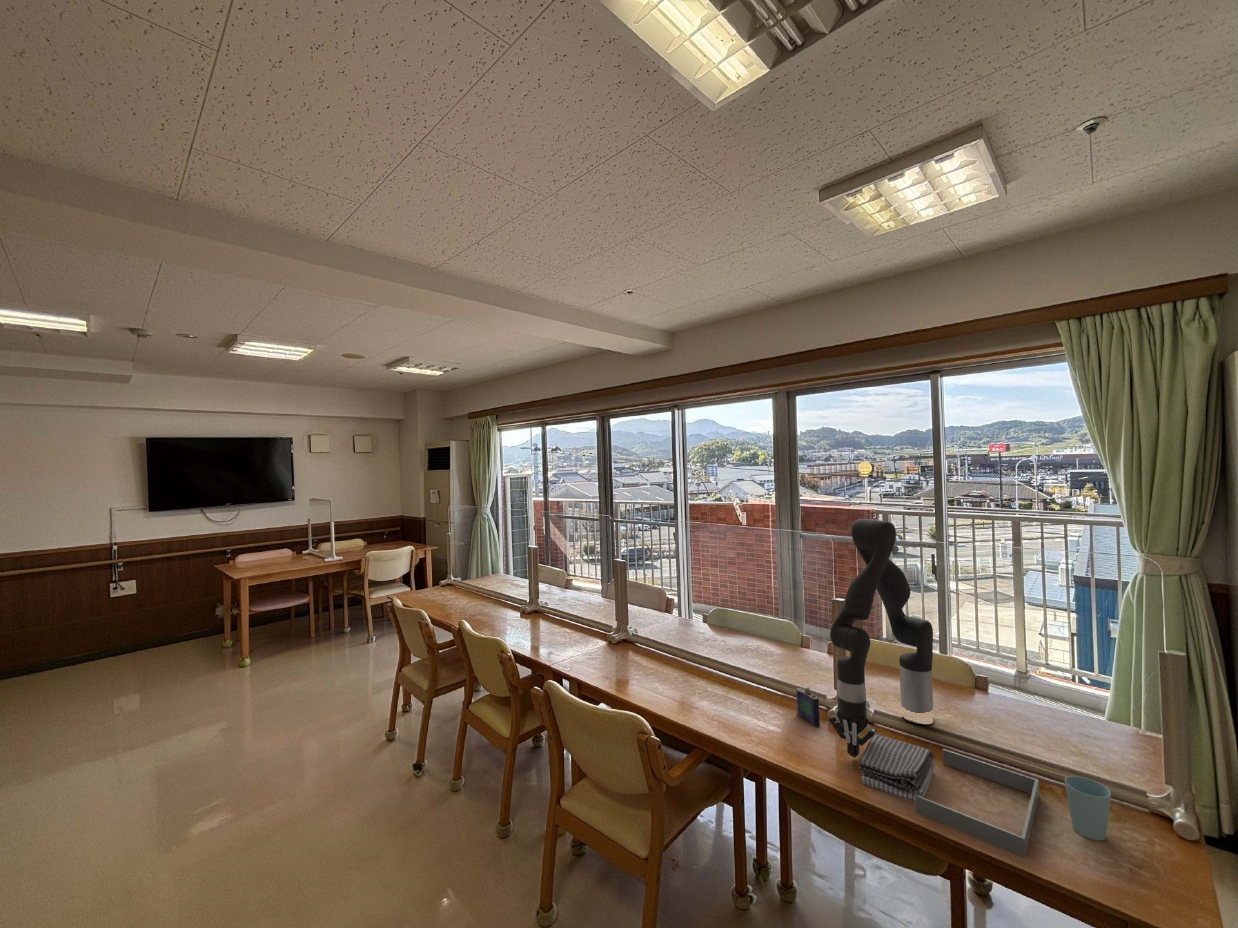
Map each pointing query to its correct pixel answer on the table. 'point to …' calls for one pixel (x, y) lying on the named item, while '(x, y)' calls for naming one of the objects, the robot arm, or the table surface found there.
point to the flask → (808, 706)
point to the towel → (896, 767)
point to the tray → (977, 826)
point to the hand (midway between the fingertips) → (853, 755)
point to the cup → (1088, 806)
